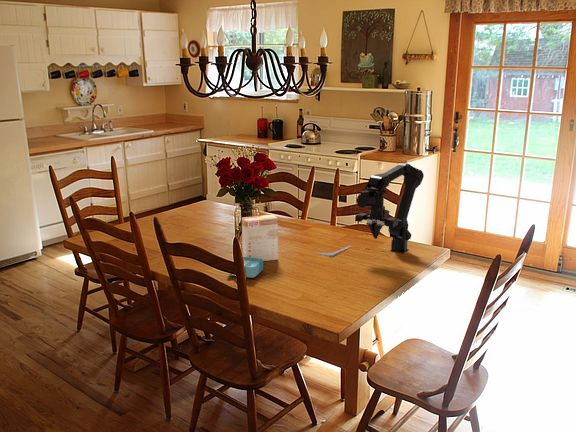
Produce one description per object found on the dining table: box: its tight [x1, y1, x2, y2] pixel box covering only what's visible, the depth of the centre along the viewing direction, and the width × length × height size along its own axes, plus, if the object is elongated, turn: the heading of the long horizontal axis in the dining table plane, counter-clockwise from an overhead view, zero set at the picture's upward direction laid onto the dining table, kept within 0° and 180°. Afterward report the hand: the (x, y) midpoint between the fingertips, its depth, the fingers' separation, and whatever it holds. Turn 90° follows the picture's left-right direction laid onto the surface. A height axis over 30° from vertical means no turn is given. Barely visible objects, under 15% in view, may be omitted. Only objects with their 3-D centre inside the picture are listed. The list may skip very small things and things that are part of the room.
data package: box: [228, 256, 264, 279], centre depth 223 cm, size 12×4×12 cm
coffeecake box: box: [241, 214, 279, 262], centre depth 238 cm, size 15×7×20 cm, turn 111°
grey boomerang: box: [313, 245, 353, 258], centre depth 254 cm, size 14×18×1 cm
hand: (375, 238), depth 238 cm, fingers closed
